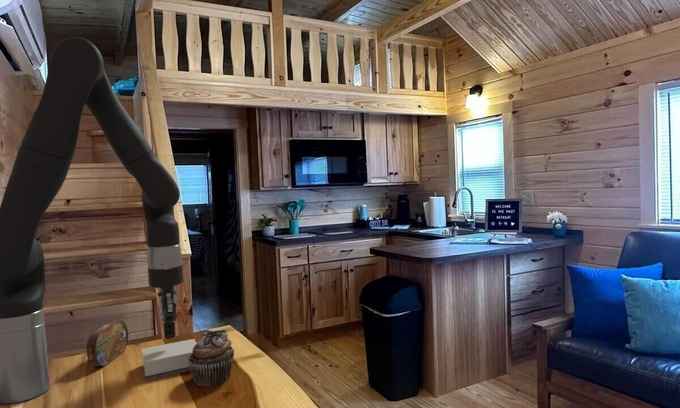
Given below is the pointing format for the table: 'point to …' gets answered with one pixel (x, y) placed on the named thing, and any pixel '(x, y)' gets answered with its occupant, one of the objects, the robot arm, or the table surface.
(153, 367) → the tile
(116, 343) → the tin
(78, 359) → the table surface
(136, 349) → the table surface
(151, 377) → the mat
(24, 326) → the robot arm
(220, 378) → the cupcake
